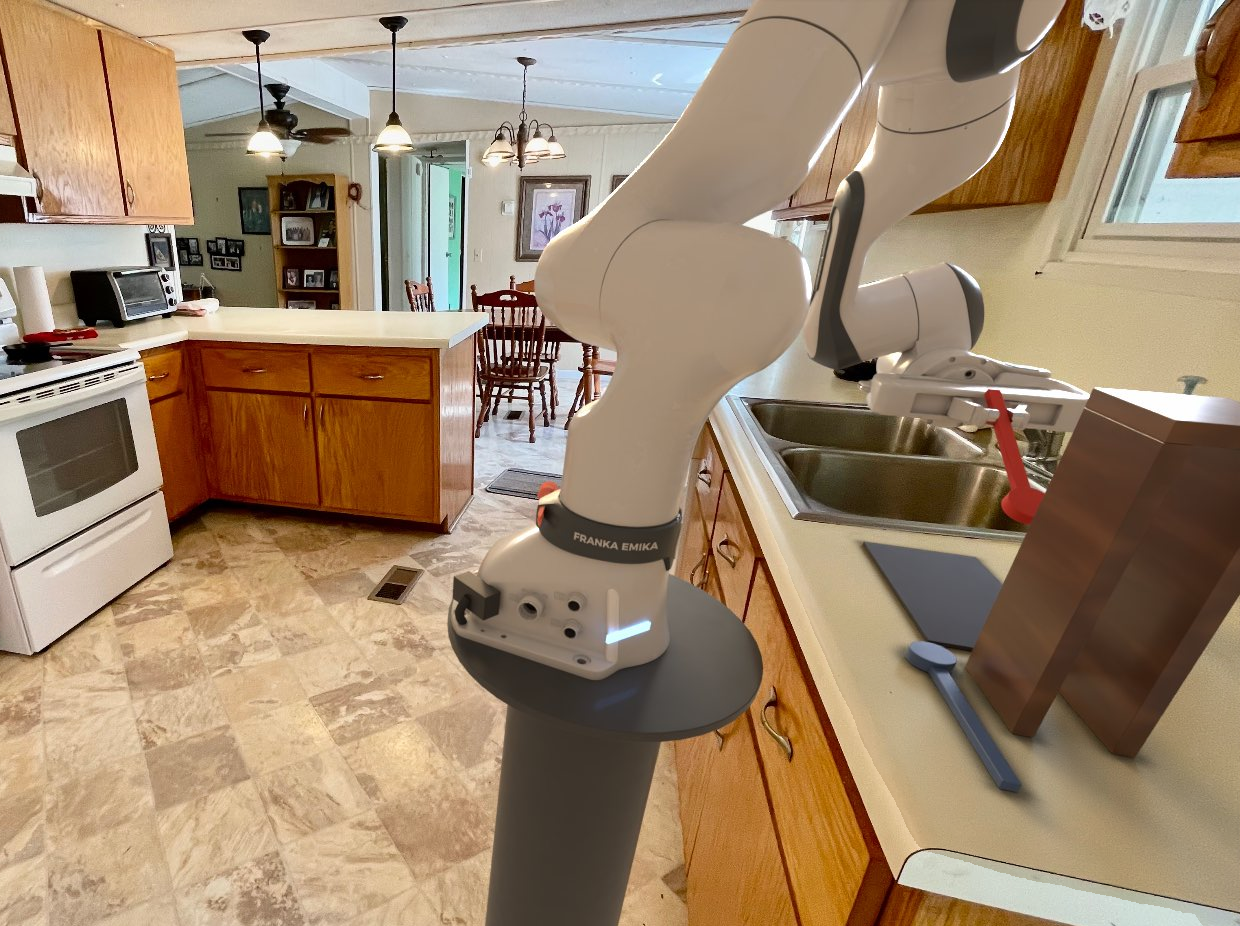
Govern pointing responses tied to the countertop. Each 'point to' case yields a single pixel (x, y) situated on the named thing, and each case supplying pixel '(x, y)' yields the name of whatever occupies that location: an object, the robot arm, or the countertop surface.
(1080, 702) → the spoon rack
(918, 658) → the blue spoon
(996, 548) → the countertop surface
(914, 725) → the countertop surface
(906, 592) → the charcoal mat
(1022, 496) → the red spoon
